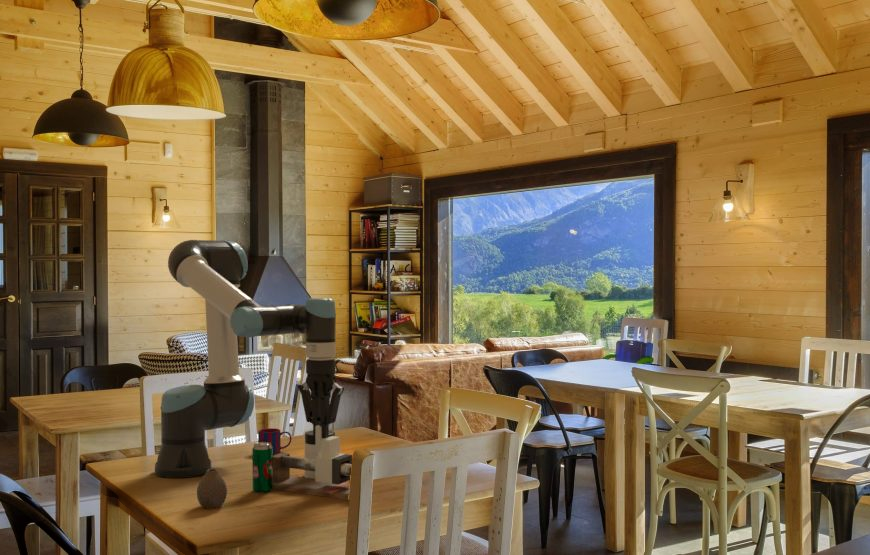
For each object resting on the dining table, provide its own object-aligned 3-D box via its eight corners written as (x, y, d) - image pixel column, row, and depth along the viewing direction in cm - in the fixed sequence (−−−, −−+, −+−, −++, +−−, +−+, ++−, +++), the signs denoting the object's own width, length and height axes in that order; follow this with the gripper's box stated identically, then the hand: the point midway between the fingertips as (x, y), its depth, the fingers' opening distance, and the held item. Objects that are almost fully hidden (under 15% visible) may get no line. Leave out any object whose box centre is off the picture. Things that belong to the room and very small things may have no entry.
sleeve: (315, 481, 215) (315, 439, 215) (329, 475, 220) (329, 435, 220) (331, 483, 212) (331, 441, 212) (345, 478, 218) (345, 436, 218)
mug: (260, 450, 264) (260, 428, 264) (292, 450, 264) (292, 428, 264) (256, 454, 257) (256, 432, 257) (289, 454, 258) (289, 432, 257)
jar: (311, 481, 226) (311, 436, 225) (298, 475, 232) (298, 431, 232) (341, 477, 230) (341, 433, 230) (328, 471, 237) (328, 428, 237)
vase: (199, 512, 198) (199, 474, 197) (195, 504, 204) (194, 468, 204) (229, 508, 200) (229, 471, 200) (224, 501, 207) (224, 465, 207)
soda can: (250, 489, 218) (250, 442, 218) (270, 487, 220) (270, 441, 220) (254, 494, 213) (254, 446, 213) (274, 492, 215) (274, 445, 215)
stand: (265, 487, 219) (265, 458, 219) (289, 479, 228) (289, 451, 228) (350, 500, 208) (350, 469, 208) (372, 490, 217) (372, 461, 216)
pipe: (277, 468, 222) (277, 456, 222) (284, 465, 225) (284, 453, 225) (354, 478, 211) (354, 466, 211) (361, 476, 214) (361, 463, 214)
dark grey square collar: (331, 483, 212) (331, 458, 212) (345, 478, 218) (345, 454, 218) (338, 484, 212) (338, 459, 211) (352, 479, 217) (352, 454, 217)
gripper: (291, 358, 217) (291, 450, 217) (333, 361, 211) (333, 455, 211) (308, 355, 223) (308, 445, 224) (350, 358, 218) (350, 450, 218)
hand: (320, 450), depth 217 cm, fingers closed
